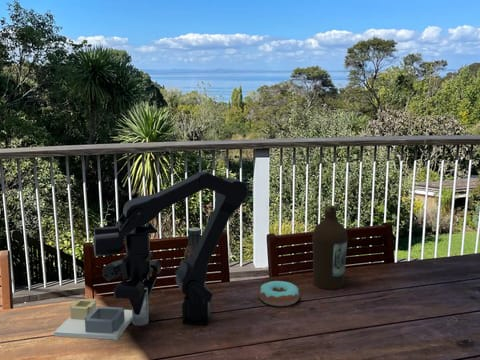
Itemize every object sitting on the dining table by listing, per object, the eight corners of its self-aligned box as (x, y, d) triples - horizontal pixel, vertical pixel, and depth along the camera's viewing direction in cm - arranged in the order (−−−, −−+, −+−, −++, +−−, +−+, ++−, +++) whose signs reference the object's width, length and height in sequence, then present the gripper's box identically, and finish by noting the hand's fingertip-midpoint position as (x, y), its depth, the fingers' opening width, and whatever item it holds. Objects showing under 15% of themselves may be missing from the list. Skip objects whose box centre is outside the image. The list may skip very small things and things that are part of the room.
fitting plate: (136, 313, 127) (135, 299, 126) (117, 339, 113) (116, 324, 112) (80, 310, 129) (79, 296, 128) (54, 336, 115) (53, 320, 114)
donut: (253, 294, 140) (253, 281, 140) (290, 289, 144) (290, 277, 143) (266, 311, 129) (266, 297, 128) (306, 305, 132) (306, 292, 132)
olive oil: (304, 283, 147) (306, 206, 143) (324, 275, 155) (326, 201, 150) (332, 293, 140) (335, 212, 136) (352, 284, 147) (355, 206, 143)
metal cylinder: (150, 318, 120) (149, 285, 118) (145, 326, 116) (144, 291, 114) (135, 317, 120) (134, 284, 119) (130, 325, 116) (128, 291, 115)
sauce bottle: (202, 298, 136) (201, 232, 133) (181, 297, 137) (180, 231, 134) (208, 290, 143) (207, 226, 139) (188, 288, 144) (187, 225, 140)
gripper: (120, 238, 125) (122, 293, 128) (90, 262, 107) (93, 326, 109) (160, 240, 124) (162, 295, 126) (137, 264, 105) (140, 329, 108)
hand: (140, 310), depth 118 cm, fingers closed on metal cylinder, 4 cm apart
